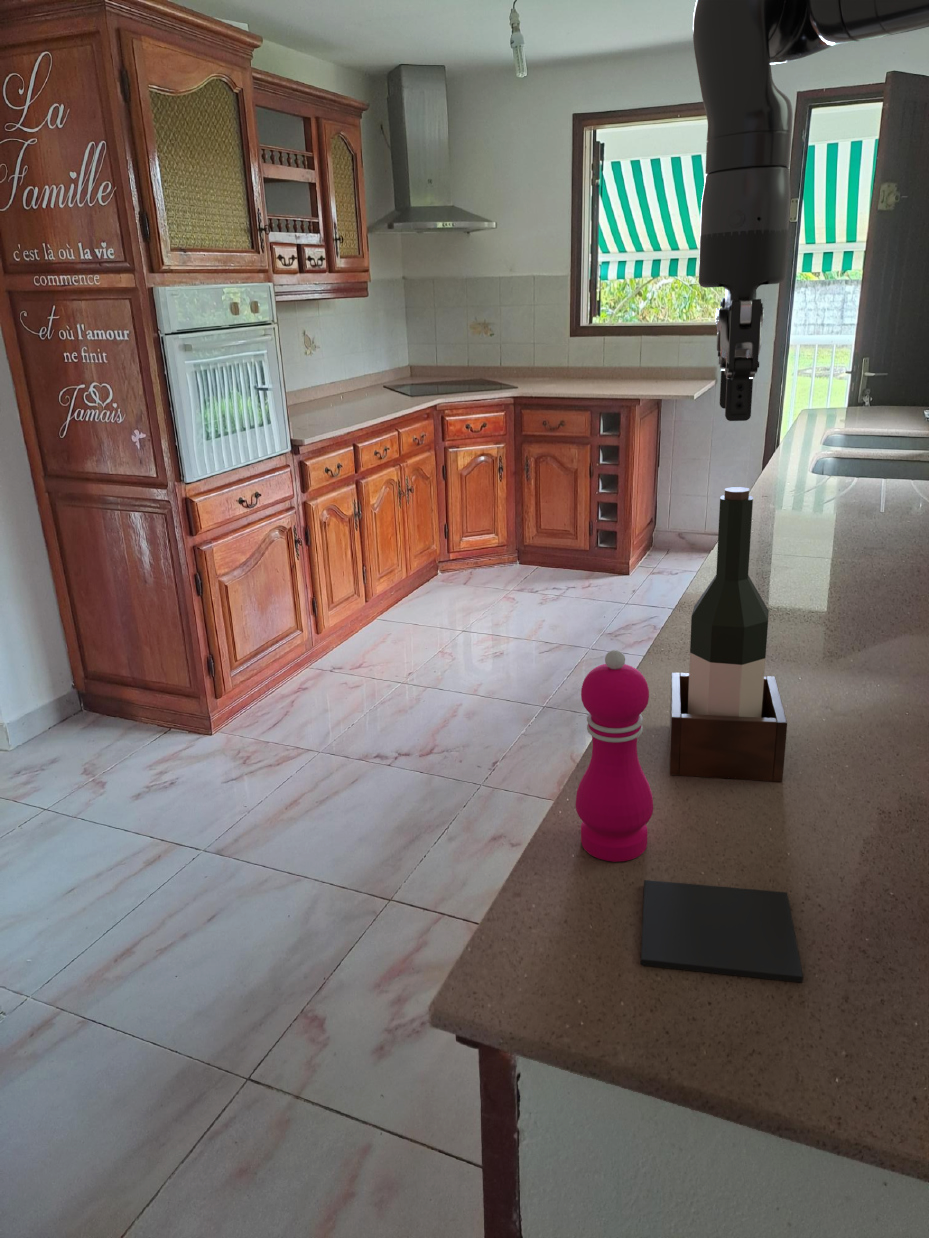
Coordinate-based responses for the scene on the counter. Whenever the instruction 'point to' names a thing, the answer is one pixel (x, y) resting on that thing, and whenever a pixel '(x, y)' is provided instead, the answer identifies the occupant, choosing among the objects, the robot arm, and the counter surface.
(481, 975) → the counter surface
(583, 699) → the pepper mill
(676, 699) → the box
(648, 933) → the rubber mat
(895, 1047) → the counter surface
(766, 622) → the wine bottle
